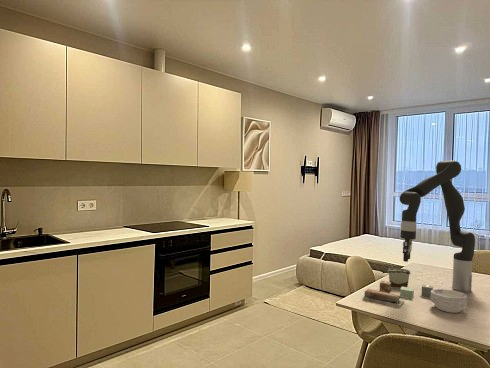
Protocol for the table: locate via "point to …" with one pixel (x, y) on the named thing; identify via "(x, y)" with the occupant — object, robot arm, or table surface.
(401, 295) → the plain sage block
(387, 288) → the walnut striped block
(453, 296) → the paper bowls
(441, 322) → the table surface
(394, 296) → the packaged product
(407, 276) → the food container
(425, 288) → the charcoal striped block
